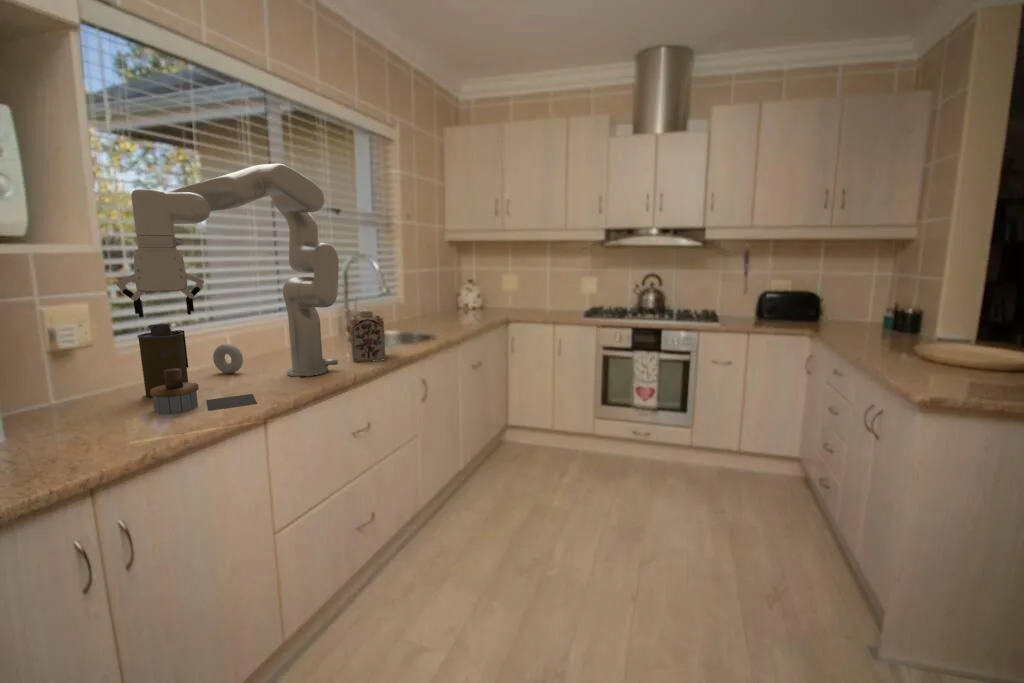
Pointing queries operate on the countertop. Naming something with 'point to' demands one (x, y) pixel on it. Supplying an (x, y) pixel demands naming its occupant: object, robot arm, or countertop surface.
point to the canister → (162, 354)
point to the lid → (173, 385)
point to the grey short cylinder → (175, 403)
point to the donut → (221, 362)
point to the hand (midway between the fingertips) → (165, 315)
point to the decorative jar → (367, 337)
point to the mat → (230, 402)
